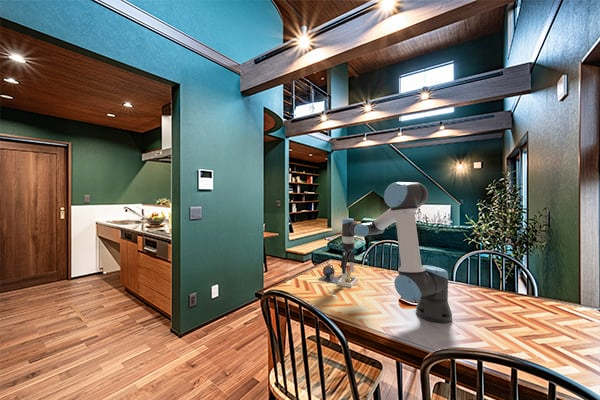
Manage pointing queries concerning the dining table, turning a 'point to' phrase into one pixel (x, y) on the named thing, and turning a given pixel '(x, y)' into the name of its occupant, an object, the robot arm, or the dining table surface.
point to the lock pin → (348, 274)
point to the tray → (348, 283)
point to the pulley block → (329, 275)
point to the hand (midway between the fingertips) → (348, 275)
